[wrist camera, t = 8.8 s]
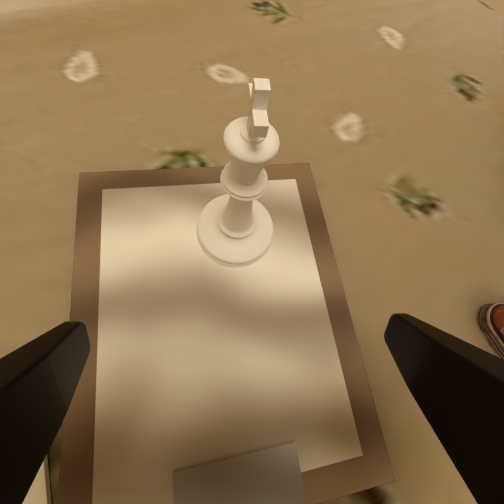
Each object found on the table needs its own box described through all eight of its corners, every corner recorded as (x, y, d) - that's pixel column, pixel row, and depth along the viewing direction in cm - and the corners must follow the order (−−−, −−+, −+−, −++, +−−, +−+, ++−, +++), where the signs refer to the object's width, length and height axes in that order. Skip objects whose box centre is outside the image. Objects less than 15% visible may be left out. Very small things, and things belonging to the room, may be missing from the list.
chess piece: (197, 269, 15) (169, 156, 6) (195, 198, 17) (170, 17, 7) (277, 265, 16) (364, 158, 7) (267, 197, 17) (327, 32, 8)
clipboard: (387, 475, 14) (401, 486, 13) (60, 571, 11) (44, 595, 10) (306, 167, 20) (311, 158, 19) (83, 178, 17) (75, 167, 16)
